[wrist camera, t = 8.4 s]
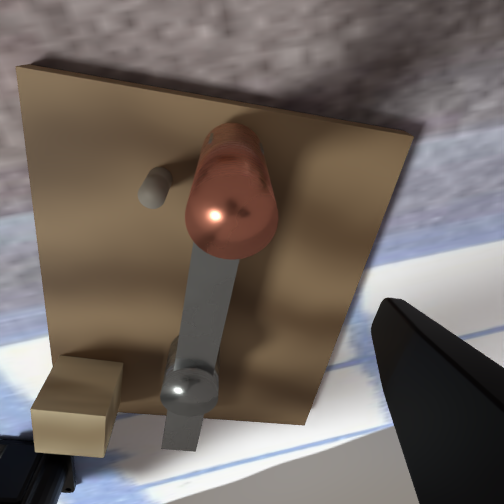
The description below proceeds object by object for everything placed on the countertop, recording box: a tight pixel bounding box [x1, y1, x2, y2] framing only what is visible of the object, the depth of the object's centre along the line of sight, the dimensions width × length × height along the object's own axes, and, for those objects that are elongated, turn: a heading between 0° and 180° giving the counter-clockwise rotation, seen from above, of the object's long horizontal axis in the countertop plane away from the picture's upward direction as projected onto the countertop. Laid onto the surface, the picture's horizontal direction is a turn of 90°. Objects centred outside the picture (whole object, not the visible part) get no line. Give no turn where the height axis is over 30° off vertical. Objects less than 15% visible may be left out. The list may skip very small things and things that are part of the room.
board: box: [16, 64, 414, 425], centre depth 22 cm, size 22×18×4 cm
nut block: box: [30, 355, 123, 458], centre depth 24 cm, size 4×4×4 cm
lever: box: [160, 123, 279, 452], centre depth 19 cm, size 20×3×8 cm, turn 168°
